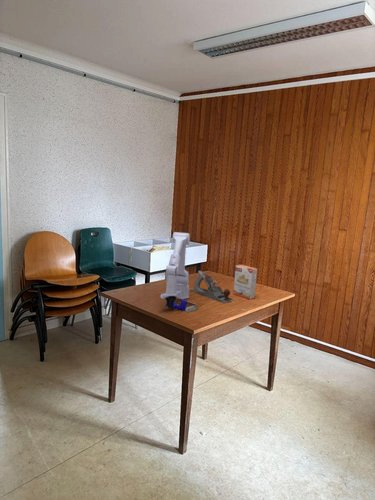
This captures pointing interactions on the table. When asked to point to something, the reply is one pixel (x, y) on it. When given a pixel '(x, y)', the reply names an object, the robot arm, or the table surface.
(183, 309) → the cable clip
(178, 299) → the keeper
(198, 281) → the hand plane
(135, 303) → the table surface
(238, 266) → the cracker box
